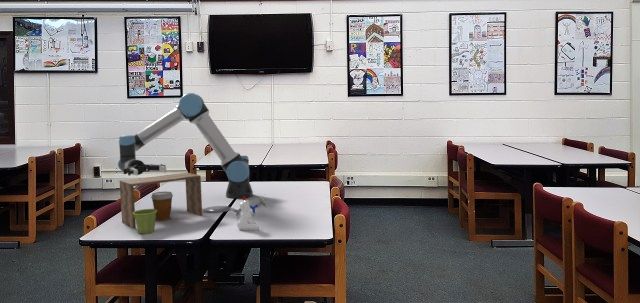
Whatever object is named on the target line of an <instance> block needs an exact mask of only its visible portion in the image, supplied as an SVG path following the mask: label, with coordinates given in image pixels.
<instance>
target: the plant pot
mask: <svg viewBox="0 0 640 303" xmlns="http://www.w3.org/2000/svg"><path fill="white" fill-rule="evenodd" d="M156 212H157V210H155V209H154V208H144V209H139V210H135V212H133V214H134V217H135V222H136V229H137V233H138V234H143V235H146V234H151V233H153V232H155V226H156V222H155V221H156V217H155V215H156Z"/></svg>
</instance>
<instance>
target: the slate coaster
mask: <svg viewBox="0 0 640 303" xmlns="http://www.w3.org/2000/svg"><path fill="white" fill-rule="evenodd" d="M230 208H232V206H227V205H216V206H215V205H213V206H208V207H205V208H202V213H203V212H204V213H209V214H210V213H211V214H214V213H215V214H217V213H224V212H229V211H231V210H230Z"/></svg>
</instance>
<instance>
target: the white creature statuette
mask: <svg viewBox="0 0 640 303" xmlns="http://www.w3.org/2000/svg"><path fill="white" fill-rule="evenodd" d="M249 205H250V203H248V200H246V201H245V200H244V201H241V202H240V203H239V209H241V211H240V219H238V221H237V223H236V226H237V228H238V230H240V231H260V226H259V225H258V224H257V222H256V221H255V220H254V219H252V216H253V215H252V214H251V210H252V209H251V208H250V206H251V205H250V206H249Z"/></svg>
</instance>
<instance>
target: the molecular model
mask: <svg viewBox="0 0 640 303" xmlns="http://www.w3.org/2000/svg"><path fill="white" fill-rule="evenodd" d="M258 199H259V202H258V203H257V204H255V205H254V206H253V205H249V206H250V208H251V209H250V210H252V216H253V217H255V216H256V209H257V208H259V206H261V205H262V206H264V208H266V209H269V205H268V204H266V203H265V202H264V201H265V199H264V197H263V196H261V195H260V196H259V198H258ZM242 200H243V201H244V200H245V201H247V197H245V196H243V198H242ZM243 201H242V202H243ZM229 211H231V212H234V213H235V214H236V215H235V216H236V217H237V218H238V220H239V219H240V216H241V212H242V211H241V209H240V208H238V209H235V208H234V207H231V208H230V210H229Z"/></svg>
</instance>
